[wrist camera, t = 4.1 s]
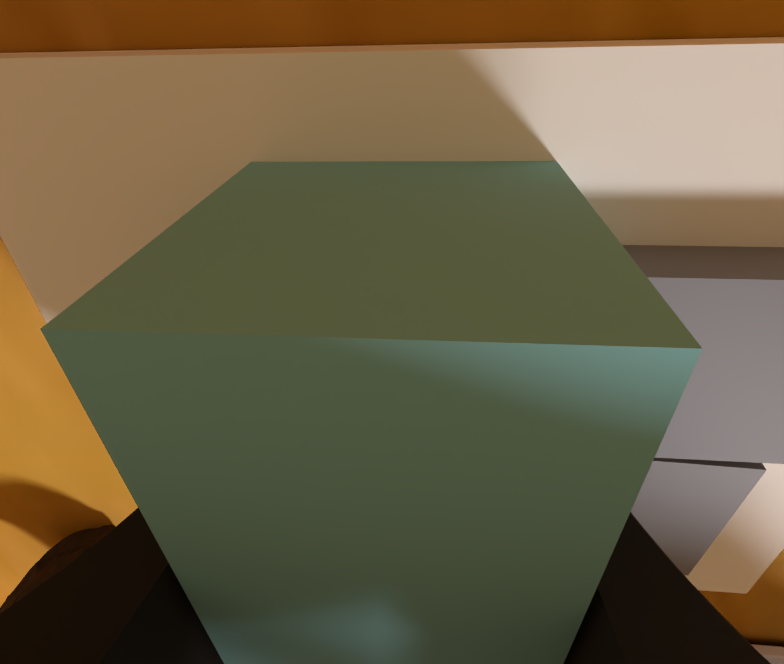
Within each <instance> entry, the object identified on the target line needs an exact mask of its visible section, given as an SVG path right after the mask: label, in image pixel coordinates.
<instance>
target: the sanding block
mask: <svg viewBox="0 0 784 664" xmlns="http://www.w3.org/2000/svg"><path fill="white" fill-rule="evenodd" d="M41 331H42V333H43V334H44V336H45V338H46V340H47V342H48V344H49V345H50V347H51V349H52V351H53V353H54V354H55V356H56V358H57V360H58V362H59V364H60V365H61V367H62V369H63V371H64V373H65V375H66V376H67V378H68V380H69V382H70V384H71V385H72V387H73V389H74V391H75V393H76V395H77V396H78V398H79V400H80V402H81V404H82V406H83V407H84V409H85V411H86V413H87V415H88V416H89V418H90V420H91V422H92V424H93V426H94V427H95V429H96V431H97V433H98V435H99V437H100V438H101V440H102V442H103V444H104V446H105V448H106V449H107V451H108V453H109V455H110V457H111V458H112V460H113V462H114V464H115V466H116V468H117V469H118V471H119V473H120V475H121V477H122V479H123V480H124V482H125V484H126V486H127V488H128V489H129V491H130V493H131V495H132V497H133V499H134V500H135V502H136V504H137V506H138V508H139V510H140V511H141V513H142V515H143V517H144V519H145V520H146V522H147V524H148V526H149V528H150V530H151V531H152V533H153V535H154V537H155V539H156V541H157V542H158V544H159V546H160V548H161V550H162V551H163V553H164V555H165V557H166V559H167V561H168V562H169V564H170V566H171V568H172V570H173V572H174V573H175V575H176V577H177V579H178V581H179V582H180V584H181V586H182V588H183V590H184V592H185V593H186V595H187V597H188V599H189V601H190V603H191V604H192V606H193V608H194V610H195V612H196V613H197V615H198V617H199V619H200V621H201V623H202V624H203V626H204V628H205V630H206V632H207V634H208V635H209V637H210V639H211V641H212V643H213V644H214V646H215V648H216V650H217V652H218V654H219V655H220V657H221V659H222V661H223V663H224V664H563V663H564V661H565V659H566V657H567V654H568V652H569V650H570V648H571V645H572V643H573V641H574V639H575V636H576V634H577V632H578V629H579V627H580V625H581V623H582V620H583V618H584V616H585V614H586V611H587V609H588V607H589V605H590V602H591V600H592V598H593V596H594V593H595V591H596V589H597V586H598V584H599V582H600V580H601V577H602V575H603V573H604V571H605V568H606V566H607V564H608V562H609V559H610V557H611V555H612V553H613V550H614V548H615V546H616V543H617V541H618V539H619V537H620V534H621V532H622V530H623V528H624V525H625V523H626V521H627V519H628V516H629V514H630V512H631V510H632V507H633V505H634V503H635V500H636V498H637V496H638V494H639V491H640V489H641V487H642V485H643V482H644V480H645V478H646V476H647V473H648V471H649V469H650V467H651V464H652V462H653V460H654V457H655V455H656V453H657V451H658V448H659V446H660V444H661V442H662V439H663V437H664V435H665V433H666V430H667V428H668V426H669V424H670V421H671V419H672V417H673V414H674V412H675V410H676V408H677V405H678V403H679V401H680V399H681V396H682V394H683V392H684V390H685V387H686V385H687V383H688V381H689V378H690V376H691V374H692V372H693V369H694V367H695V365H696V362H697V360H698V358H699V356H700V353H701V351H702V347H701V346H700V345H699V343H698V342H697V341H696V340H695V338H694V337H693V336H692V334H691V333H690V332H689V331H688V329H687V328H686V327H685V325H684V324H683V323H682V322H681V320H680V319H679V318H678V316H677V315H676V314H675V313H674V311H673V310H672V309H671V307H670V306H669V305H668V304H667V302H666V301H665V300H664V298H663V297H662V296H661V295H660V293H659V292H658V291H657V289H656V288H655V287H654V286H653V284H652V283H651V282H650V280H649V279H648V278H647V277H646V275H645V274H644V273H643V271H642V270H641V269H640V268H639V266H638V265H637V264H636V262H635V261H634V260H633V259H632V257H631V256H630V255H629V253H628V252H627V251H626V250H625V248H624V247H623V246H622V244H621V243H620V242H619V241H618V239H617V238H616V237H615V235H614V234H613V233H612V232H611V230H610V229H609V228H608V226H607V225H606V224H605V223H604V221H603V220H602V219H601V217H600V216H599V215H598V214H597V212H596V211H595V210H594V208H593V207H592V206H591V205H590V203H589V202H588V201H587V199H586V198H585V197H584V196H583V194H582V193H581V192H580V190H579V189H578V188H577V187H576V185H575V184H574V183H573V181H572V180H571V179H570V178H569V176H568V175H567V174H566V172H565V171H564V170H563V169H562V167H561V166H560V165H559V163H558V162H557V161H378V162H250V163H249V164H248V165H246V166H245V167H244V168H243V169H241V170H240V171H239V172H238V173H236V174H235V175H234V176H232V177H231V178H230V179H229V180H227V181H226V182H225V183H224V184H222V185H221V186H220V187H219V188H217V189H216V190H215V191H214V192H212V193H211V194H210V195H209V196H207V197H206V198H205V199H204V200H202V201H201V202H200V203H198V204H197V205H196V206H195V207H193V208H192V209H191V210H190V211H188V212H187V213H186V214H185V215H183V216H182V217H181V218H180V219H178V220H177V221H176V222H175V223H173V224H172V225H171V226H169V227H168V228H167V229H166V230H164V231H163V232H162V233H161V234H159V235H158V236H157V237H156V238H154V239H153V240H152V241H151V242H149V243H148V244H147V245H146V246H144V247H143V248H142V249H140V250H139V251H138V252H137V253H135V254H134V255H133V256H132V257H130V258H129V259H128V260H127V261H125V262H124V263H123V264H122V265H120V266H119V267H118V268H117V269H115V270H114V271H113V272H111V273H110V274H109V275H108V276H106V277H105V278H104V279H103V280H101V281H100V282H99V283H98V284H96V285H95V286H94V287H93V288H91V289H90V290H89V291H88V292H86V293H85V294H84V295H82V296H81V297H80V298H79V299H77V300H76V301H75V302H74V303H72V304H71V305H70V306H69V307H67V308H66V309H65V310H64V311H62V312H61V313H60V314H59V315H57V316H56V317H55V318H53V319H52V320H51V321H50V322H48V323H47V324H46V325H45V326H43V327H42V328H41Z"/></svg>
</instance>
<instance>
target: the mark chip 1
mask: <svg viewBox="0 0 784 664" xmlns="http://www.w3.org/2000/svg"><path fill="white" fill-rule="evenodd" d="M622 246H623V247H624V248H625V250H626V251H627V252H628V253H629V255H630V256H631V257H632V259H633V260H634V261H635V262H636V264H637V265H638V266H639V268H640V269H641V270H642V271H643V273H644V274H645V275H646V277H647V278H648V279H649V280H650V282H651V283H652V284H653V286H654V287H655V288H656V289H657V291H658V292H659V293H660V295H661V296H662V297H663V298H664V300H665V301H666V302H667V304H668V305H669V306H670V307H671V309H672V310H673V311H674V313H675V314H676V315H677V316H678V318H679V319H680V320H681V322H682V323H683V324H684V325H685V327H686V328H687V329H688V331H689V332H690V333H691V334H692V336H693V337H694V338H695V340H696V341H697V342H698V343H699V345H700V346H701V347H702V351H701V353H700V356H699V358H698V360H697V362H696V365H695V367H694V369H693V372H692V374H691V376H690V378H689V381H688V383H687V385H686V387H685V390H684V392H683V394H682V396H681V399H680V401H679V403H678V405H677V408H676V410H675V412H674V414H673V417H672V419H671V421H670V424H669V426H668V428H667V430H666V433H665V435H664V437H663V439H662V442H661V444H660V446H659V448H658V451H657V453H656V455H655V457H654V458H674V459H693V460H713V461H733V462H753V463H773V464H784V247H736V246H664V245H622Z"/></svg>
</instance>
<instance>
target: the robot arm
mask: <svg viewBox="0 0 784 664" xmlns="http://www.w3.org/2000/svg"><path fill="white" fill-rule="evenodd" d="M0 664H224V663H223V661H222V659H221V657H220V655H219V654H218V652H217V650H216V648H215V646H214V644H213V643H212V641H211V639H210V637H209V635H208V634H207V632H206V630H205V628H204V626H203V624H202V623H201V621H200V619H199V617H198V615H197V613H196V612H195V610H194V608H193V606H192V604H191V603H190V601H189V599H188V597H187V595H186V593H185V592H184V590H183V588H182V586H181V584H180V582H179V581H178V579H177V577H176V575H175V573H174V572H173V570H172V568H171V566H170V564H169V562H168V561H167V559H166V557H165V555H164V553H163V551H162V550H161V548H160V546H159V544H158V542H157V541H156V539H155V537H154V535H153V533H152V531H151V530H150V528H149V526H148V524H147V522H146V520H145V519H144V517H143V515H142V513H141V511H140V510H139V508H137V509H136V510H135V511H134V512H133V513H132V514H130V515H129V516H128V517H127V518H126V519H125V520H123V521H122V522H121V523H120V524H119V525H118V526H116V527H115V528H114V529H113V530H112V531H110V532H109V533H108V534H107V535H106V536H104V537H103V538H102V539H101V540H99V541H98V542H97V543H96V544H94V545H93V546H92V547H91V548H89V549H88V550H87V551H86V552H84V553H83V554H82V555H80V556H79V557H78V558H77V559H75V560H74V561H73V562H71V563H70V564H69V565H67V566H66V567H65V568H63V569H62V570H61V571H59V572H58V573H57V574H55V575H54V576H52V577H51V578H50V579H48V580H47V581H45V582H44V583H43V584H41V585H40V586H38V587H37V588H36V589H34V590H33V591H31V592H30V593H29V594H27V595H26V596H24V597H23V598H22V599H20V600H19V601H17V602H16V603H15V604H13V605H12V606H10V607H9V608H8V609H6V610H5V611H3V612H2V613H1V614H0ZM563 664H784V647H780V646H768V645H755V644H750V643H749V642H748V641H747V640H746V639H745V638H744V637H743V636H742V635H741V634H740V633H739V632H738V631H737V630H736V629H735V628H734V627H733V626H732V625H731V624H730V623H729V622H728V621H727V620H726V619H725V618H724V617H723V616H722V615H721V614H720V613H719V612H718V611H717V610H716V609H715V607H714V606H713V605H712V604H711V603H710V602H709V601H708V600H707V599H706V598H705V597H704V596H703V595H702V594H701V593H700V592H699V590H698V589H697V588H696V587H695V586H694V585H693V584H692V583H691V582H690V581H689V580H688V579H687V578H686V576H685V575H684V574H683V573H682V572H681V571H680V570H679V569H678V568H677V566H676V565H675V564H674V563H673V562H672V561H671V560H670V558H669V557H668V556H667V555H666V554H665V553H664V552H663V550H662V549H661V548H660V547H659V546H658V544H657V543H656V542H655V541H654V540H653V538H652V537H651V536H650V535H649V534H648V532H647V531H646V530H645V529H644V528H643V527H642V525H641V524H640V523H639V522H638V520H637V519H636V518H635V517H634V515H633V514H632V513H631V512H630V514H629V516H628V519H627V521H626V523H625V525H624V528H623V530H622V532H621V534H620V537H619V539H618V541H617V543H616V546H615V548H614V550H613V553H612V555H611V557H610V559H609V562H608V564H607V566H606V568H605V571H604V573H603V575H602V577H601V580H600V582H599V584H598V586H597V589H596V591H595V593H594V596H593V598H592V600H591V602H590V605H589V607H588V609H587V611H586V614H585V616H584V618H583V620H582V623H581V625H580V627H579V629H578V632H577V634H576V636H575V639H574V641H573V643H572V645H571V648H570V650H569V652H568V654H567V657H566V659H565V661H564V663H563Z"/></svg>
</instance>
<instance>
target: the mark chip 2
mask: <svg viewBox="0 0 784 664" xmlns="http://www.w3.org/2000/svg"><path fill="white" fill-rule="evenodd" d="M765 472H766V468H765V467H764V465H763V464H762V463H753V462H733V461H713V460H693V459H674V458H654V460H653V462H652V464H651V467H650V469H649V471H648V473H647V476H646V478H645V480H644V482H643V485H642V487H641V489H640V491H639V494H638V496H637V498H636V500H635V503H634V505H633V507H632V510H631V513H632V514H633V515H634V517H635V518H636V519H637V520H638V522H639V523H640V524H641V525H642V527H643V528H644V529H645V530H646V531H647V532H648V534H649V535H650V536H651V537H652V538H653V540H654V541H655V542H656V543H657V544H658V546H659V547H660V548H661V549H662V550H663V552H664V553H665V554H666V555H667V556H668V557H669V558H670V560H671V561H672V562H673V563H674V564H675V565H676V566H677V568H678V569H679V570H680V571H681V572H682V573H683V574H684V575H689V574H690V572H691V571H692V570H693V568H694V567H695V566H696V564H697V563H698V562H699V560H700V559H701V558H702V556H703V555H704V553H705V552H706V551H707V549H708V548H709V547H710V545H711V544H712V543H713V541H714V540H715V539H716V537H717V536H718V535H719V533H720V532H721V531H722V529H723V528H724V527H725V525H726V524H727V523H728V521H729V520H730V519H731V517H732V516H733V515H734V513H735V512H736V511H737V509H738V508H739V506H740V505H741V504H742V502H743V501H744V500H745V498H746V497H747V496H748V494H749V493H750V492H751V490H752V489H753V488H754V486H755V485H756V484H757V482H758V481H759V480H760V478H761V477H762V476H763V474H764V473H765Z"/></svg>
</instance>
